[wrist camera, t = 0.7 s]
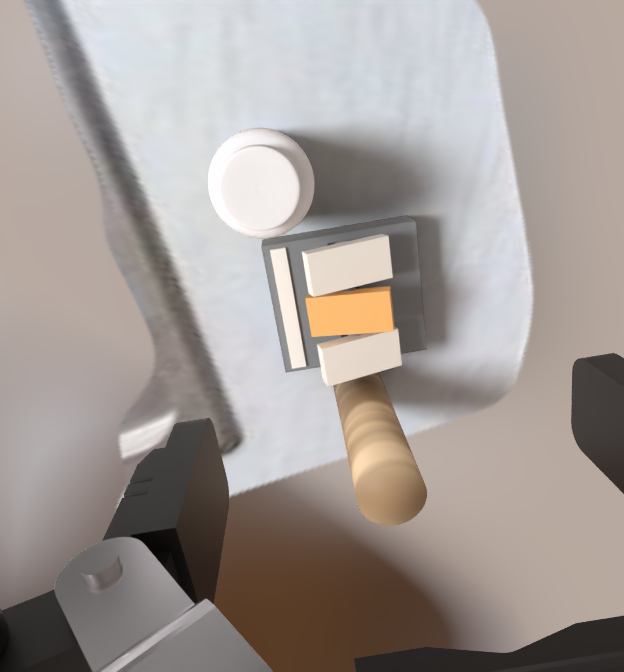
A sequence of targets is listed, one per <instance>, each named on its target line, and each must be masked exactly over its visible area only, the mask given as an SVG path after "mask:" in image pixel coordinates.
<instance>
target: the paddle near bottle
mask: <svg viewBox="0 0 624 672" xmlns="http://www.w3.org/2000/svg"><path fill="white" fill-rule="evenodd" d="M302 256H303V262H304V268H305V275H306V281H307V287H308V293H309V294H310V295H312V296H313V297H316V296H320V295H324V294H328V293H332V292H336V291H340V290H344V289H348V288H352V287H356V286H361V285H365V284H369V283H373V282H377V281H381V280H385V279H389V278H393V275H392V265H391V256H390V246H389V236H387V235H384V234H378V235H374V236H369V237H365V238H360V239H356V240H351V241H340V242H336V243H335V244H334V245H329V246H325V247H320V248H316V249H311V250H307V251H302Z"/></svg>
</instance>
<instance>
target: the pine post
mask: <svg viewBox="0 0 624 672" xmlns="http://www.w3.org/2000/svg"><path fill="white" fill-rule="evenodd" d="M333 386H334V391H335V396H336V401H337V406H338V411H339V415H340V420H341V425H342V430H343V435H344V440H345V444H346V449H347V454H348V459H349V464H350V468H351V473H352V478H353V483H354V488H355V493H356V498H357V503H358V507H359V509H360V511H361V513H362V514H363V515H364V516H365V517H366V518H367V519H368V520H370V521H372V522H374V523H377V524H380V525H388V526H390V525H398V524H402V523H405V522H407V521H409V520H411V519H412V518H414V517H415V516H416V515H417V514H418V513H419V512H420V511H421V510H422V508H423V506H424V504H425V502H426V498H427V490H426V486H425V483H424V481H423V478H422V476H421V474H420V471H419V469H418V466H417V464H416V462H415V459H414V457H413V454H412V452H411V449H410V447H409V445H408V442H407V440H406V437H405V435H404V432H403V430H402V428H401V425H400V423H399V420H398V418H397V416H396V413H395V411H394V408H393V406H392V403H391V401H390V399H389V396H388V394H387V391H386V389H385V386H384V384H383V382H382V379H381V377H380V374H379V372H377V373H373V374H370V375H367V376H363V377H360V378H356V379H353V380H349V381H346V382H343V383H339V384H336V385H333Z"/></svg>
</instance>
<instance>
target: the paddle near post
mask: <svg viewBox="0 0 624 672" xmlns="http://www.w3.org/2000/svg"><path fill="white" fill-rule="evenodd" d="M317 347H318V353H319V359H320V365H321V371H322V377H323V381H324V382H325V384H326V385H327V386H328V387H329V386H332V385H336V384H339V383H343V382H346V381H349V380H353V379H356V378H360V377H363V376H367V375H370V374H373V373H377V372H380V371H384V370H387V369H391V368H394V367H397V366H401V365H402V362H401V352H400V343H399V333H398V328H396V327H395V326H394V331H392V332H377V333H363V334H348V336H346V337H342V338H338V339H335V340H331V341H327V342H323V343H320V344H317Z"/></svg>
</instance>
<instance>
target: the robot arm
mask: <svg viewBox="0 0 624 672" xmlns="http://www.w3.org/2000/svg"><path fill="white" fill-rule="evenodd" d="M571 416H572V417H571V424H572V430H573V434H574V438H575V440H576V443H577V445H578V446H579V448H580V449H581V450H582V452H583V453H584V454H585V455H586V456H587V457H588V458H589V459H590V460H591V461H592V462H593V463H594V464H595V465H596V466H597V467H598V468H599V469H600V470H601V471H602V472H603V473H604V474H605V475H606V476H607V477H608V478H609V479H610V480H611V481H612V482H613V483H614V484H615V485H616V486H617V487H618V488H619V490H620V491H621V492H623V494H624V358H622V357H621V356H619V355H617V354H615V353H611V354H605V355H600V356H593V357H587V358H580V359H577V360H576V361H575V363H574V365H573V370H572V415H571ZM228 509H229V489H228V482H227V477H226V473H225V469H224V465H223V461H222V457H221V453H220V449H219V445H218V441H217V437H216V433H215V429H214V426H213V423H212V421H211V419H210V418H206V419H199V420H193V421H187V422H181V423H176V424H175V425H174V427H173V430H172V432H171V435H170V437H169V440H168V442H167V445H166V447H165V448H159V449H154V450H153V451H152V452H150V453H149V454H148V455H147V456H146V457H145V458H144V459H143V460H142V461H141V462H140V463H139V464H138V465H137V467H136V470H135V472H134V474H133V476H132V478H131V480H130V484H129V485H128V487H127V489H126V491H125V493H124V498H122V500H121V502H120V504H119V506H118V508H117V510H116V513H115V515H114V517H113V519H112V521H111V523H110V526H109V528H108V530H107V532H106V534H105V536H104V539H103V541H102V542H99V543H97V544H94V545H92V546H90V547H89V548H87V549H85V550H84V551H82V552H80V553H79V554H78V555H77V556H75V557H74V558H73V559H72V560H71V561H70V562H68V564H67V565H66V566H65V567H64V568H63V569H62V571H61V572H60V574H59V576H58V578H57V580H56V583H55V589H54V590H52V591H50V592H48V593H45V594H43V595H40V596H38V597H35V598H33V599H30V600H28V601H25V602H23V603H20V604H17V605H15V606H13V607H10V608H8V609H5V610H3V611H1V609H0V672H273V671H272V670H271V669H270V668H269V667H268V666H267V664H266V663H265V662H264V661H263V660H262V659H261V658H260V657H259V655H258V654H257V653H256V652H255V651H254V650H253V649H252V647H251V646H250V645H249V644H248V643H247V642H246V641H245V639H244V638H243V637H242V636H241V635H240V634H239V633H238V632H237V630H236V629H235V628H234V627H233V626H232V625H231V624H230V622H228V620H227V619H226V618H225V617H224V616H223V615H222V613H221V612H220V611H219V610H218V609H217V608H216V607H215V606H214V599H215V593H216V586H217V579H218V573H219V567H220V560H221V553H222V548H223V541H224V535H225V528H226V522H227V515H228ZM355 667H356V672H624V616H620V617H613V618H607V619H600V620H594V621H587V622H581V623H576V624H573V625H571V626H569V627H567V628H565V629H563V630H560V631H558V632H556V633H554V634H552V635H550V636H547V637H545V638H543V639H541V640H538V641H536V642H534V643H532V644H530V645H527V646H525V647H523V648H521V649H519V650H516V651H514V652H509V653H494V652H481V651H468V650H456V649H443V648H431V647H424V648H418V649H411V650H405V651H399V652H393V653H387V654H381V655H374V656H368V657H361V658H355Z"/></svg>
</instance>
